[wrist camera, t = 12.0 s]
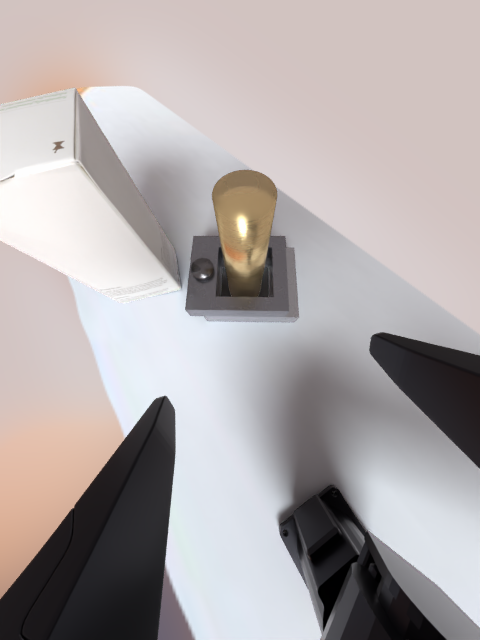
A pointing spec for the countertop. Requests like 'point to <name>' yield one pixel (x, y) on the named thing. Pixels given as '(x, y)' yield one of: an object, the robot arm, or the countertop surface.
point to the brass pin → (244, 227)
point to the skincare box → (78, 201)
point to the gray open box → (243, 309)
